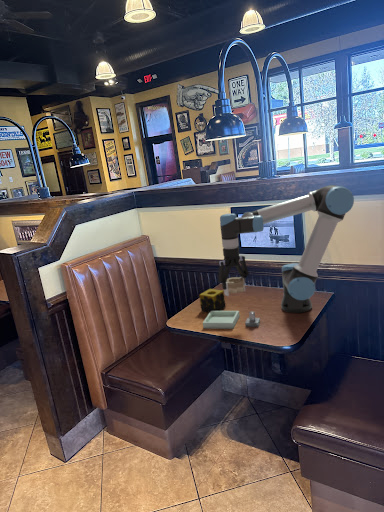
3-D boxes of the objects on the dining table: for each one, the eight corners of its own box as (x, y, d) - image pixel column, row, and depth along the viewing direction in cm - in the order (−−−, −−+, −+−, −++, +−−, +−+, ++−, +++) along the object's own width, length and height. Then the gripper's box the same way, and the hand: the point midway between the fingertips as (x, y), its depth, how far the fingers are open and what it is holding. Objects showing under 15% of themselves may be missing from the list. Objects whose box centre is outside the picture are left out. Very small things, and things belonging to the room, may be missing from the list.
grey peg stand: (260, 321, 183) (259, 310, 181) (258, 326, 177) (257, 315, 176) (247, 321, 185) (246, 310, 183) (245, 326, 179) (244, 315, 178)
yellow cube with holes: (211, 305, 214) (209, 288, 212) (226, 307, 207) (224, 290, 205) (200, 311, 206) (198, 294, 204) (215, 314, 200) (213, 296, 198)
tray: (239, 316, 193) (239, 310, 192) (233, 328, 179) (232, 323, 178) (211, 316, 198) (210, 310, 197) (203, 328, 184) (202, 322, 183)
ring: (247, 289, 178) (246, 279, 177) (232, 294, 174) (231, 284, 173) (234, 285, 188) (233, 275, 187) (219, 289, 184) (218, 279, 183)
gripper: (244, 241, 184) (248, 285, 189) (206, 250, 174) (211, 296, 179) (254, 243, 177) (257, 289, 182) (215, 252, 167) (220, 300, 173)
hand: (235, 292), depth 181 cm, fingers closed on ring, 9 cm apart
